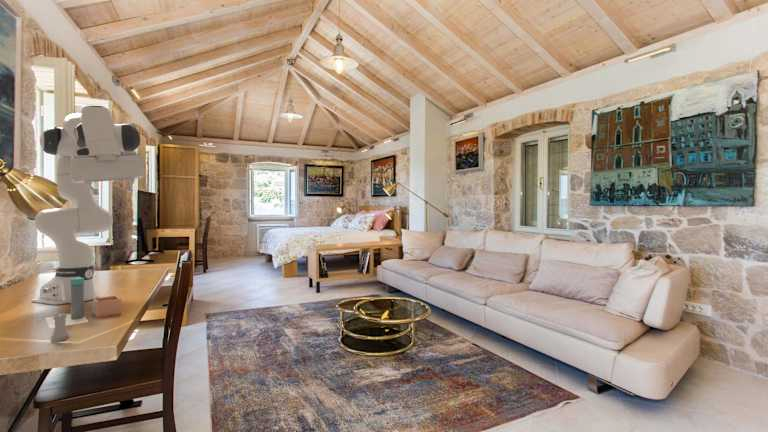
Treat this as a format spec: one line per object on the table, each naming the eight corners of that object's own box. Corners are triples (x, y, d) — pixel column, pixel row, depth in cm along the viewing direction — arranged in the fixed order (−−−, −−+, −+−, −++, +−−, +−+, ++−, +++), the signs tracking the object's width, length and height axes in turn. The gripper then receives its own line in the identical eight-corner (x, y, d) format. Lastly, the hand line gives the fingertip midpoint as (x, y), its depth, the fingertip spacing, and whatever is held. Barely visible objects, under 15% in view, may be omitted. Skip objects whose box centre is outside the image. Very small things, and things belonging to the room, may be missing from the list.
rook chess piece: (58, 337, 115) (58, 311, 115) (73, 337, 115) (73, 311, 115) (46, 343, 110) (46, 316, 110) (62, 342, 111) (62, 316, 111)
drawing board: (37, 319, 132) (37, 317, 132) (83, 312, 141) (83, 310, 141) (41, 333, 118) (41, 331, 118) (93, 324, 128) (93, 322, 128)
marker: (67, 319, 131) (67, 279, 130) (77, 316, 134) (77, 277, 134) (77, 319, 130) (77, 279, 130) (87, 316, 134) (87, 277, 134)
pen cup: (93, 314, 139) (93, 298, 139) (116, 310, 144) (116, 295, 144) (96, 318, 134) (96, 302, 134) (120, 314, 139) (120, 298, 139)
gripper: (139, 154, 133) (147, 191, 133) (65, 156, 120) (74, 198, 119) (142, 148, 129) (151, 187, 128) (65, 151, 115) (74, 194, 115)
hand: (113, 193), depth 124 cm, fingers open, 8 cm apart
